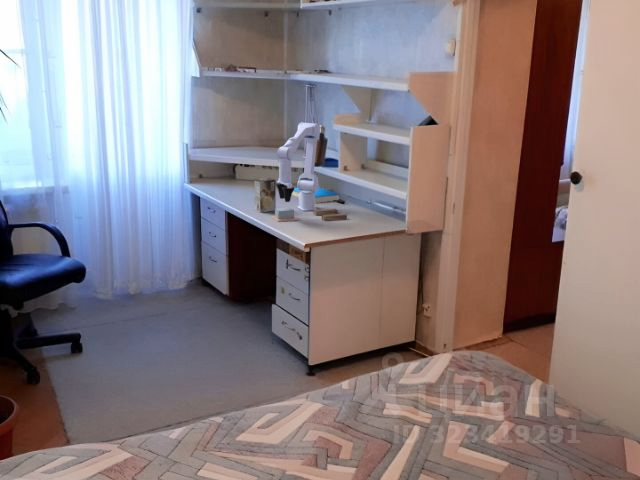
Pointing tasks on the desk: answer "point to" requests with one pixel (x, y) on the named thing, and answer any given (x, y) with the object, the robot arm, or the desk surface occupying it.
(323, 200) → the book
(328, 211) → the pair of brown bars
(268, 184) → the coffee box
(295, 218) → the tile
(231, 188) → the desk surface
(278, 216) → the block
